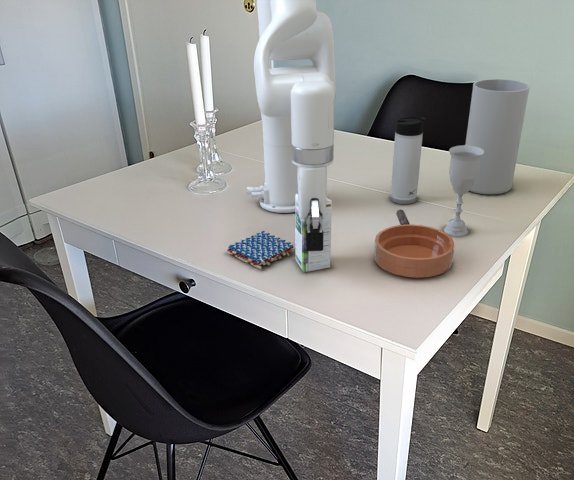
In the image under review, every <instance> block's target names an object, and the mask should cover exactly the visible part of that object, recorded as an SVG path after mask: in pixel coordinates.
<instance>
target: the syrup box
mask: <svg viewBox="0 0 574 480" xmlns="http://www.w3.org/2000/svg"><path fill="white" fill-rule="evenodd" d="M310 202H311V200H310ZM332 209H333V200H331V199H330V198H329V197H328V195H327V196H326V213H325V217H324V218H323V219H322V230H323V250H322V251H307V250H306V231H307V217H306V218H303V219H300V218H299V212H298V194H296V195H295V212H294V213H295V214H294V215H295V217H294V220H295V221H294V222H295V223H294V225H295V226H294V230H295V233H294V236H295V238H294V239H295V240H294V242H295V243H294V250H295V252H294V253H295V261H296V263H297V265H298V266H299V267H300V269H301V271H302V272H303V273H307V272H308V273H309V272H314V271H319V270H324V269H329V268H331V254H332V253H331V252H332V250H331V247H332V215H333V213H332V211H333V210H332ZM309 215H312V214H310V213H309ZM311 222H312V220H310V223H311Z"/></svg>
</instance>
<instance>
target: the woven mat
mask: <svg viewBox="0 0 574 480" xmlns="http://www.w3.org/2000/svg"><path fill="white" fill-rule="evenodd" d="M265 232H266V231H265V230H262V231H259V232H256V233H255V234H254V235H253V234H250V236H249V237H245V238H243V239H240V240H239V241H238V242H237V241H235V242H234V243H232V244H229V246H228V248H227V249H226V251H227V254H229V255H231V256H235V258H236V259H238V260H240V261H242V262H244V263H248V264H250V265H252V266H253V267H255V268H256V269H258V270H261V271H262V270H263V267H262V266H265V265H267V266H271V263H273V262H274V261H275V262H276V261H278V260H282V257H284V256H287V257H289V256H290V255H291V254H290V253H293V252H294V250H295V246H294V244H292V242H291V241H289V242H288V241H287V240H286V239H281V237H276V235H275V234H273V235H272V234H271V232H266V233H265ZM286 241H287V242H286Z"/></svg>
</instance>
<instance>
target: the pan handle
mask: <svg viewBox="0 0 574 480" xmlns="http://www.w3.org/2000/svg"><path fill="white" fill-rule="evenodd" d="M395 214H396V217H397V219H398V223H399V225H409V224H411V223H410V221H409V219H408V216H407V215H406V212H405V210H403V209H402V208H401V209H397V210H396V213H395Z"/></svg>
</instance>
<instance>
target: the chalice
mask: <svg viewBox="0 0 574 480" xmlns="http://www.w3.org/2000/svg"><path fill="white" fill-rule="evenodd" d="M448 152H449V155H450V162H449V168H448V169H449V170H448V175H449V180H450V184H451V187H452V190H453V192H454V193H455V194H457V199H456V201H455V204H456V207H455V209H453V210H454V213H455V216H454V217H453V218H452V219H450V220H449V221H448V222H447V224H446V225H445V227H444V229H443V232H445V233H447V234H448V235H449V236H451V237H452V236H453V237H463V236H465V235H468V233H469V232H468V228H467V226H466V222H465V221H464V220H463V219H462V218H461V214H462V212H463V209H462V206H463V204H464V201H463V197H464V195H466V194H468V193H469V192H470V191H469V190H470V188H471V187H472V185H473V184H474V182H475V180H476V178H477V176H478V172H479V165H480V158H481V156H482V155H483V153H484V150H483V149H481V148H479V147H475V146H466V145H465V144H463V145H456V146H452V147H450V148H449V149H448Z"/></svg>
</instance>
